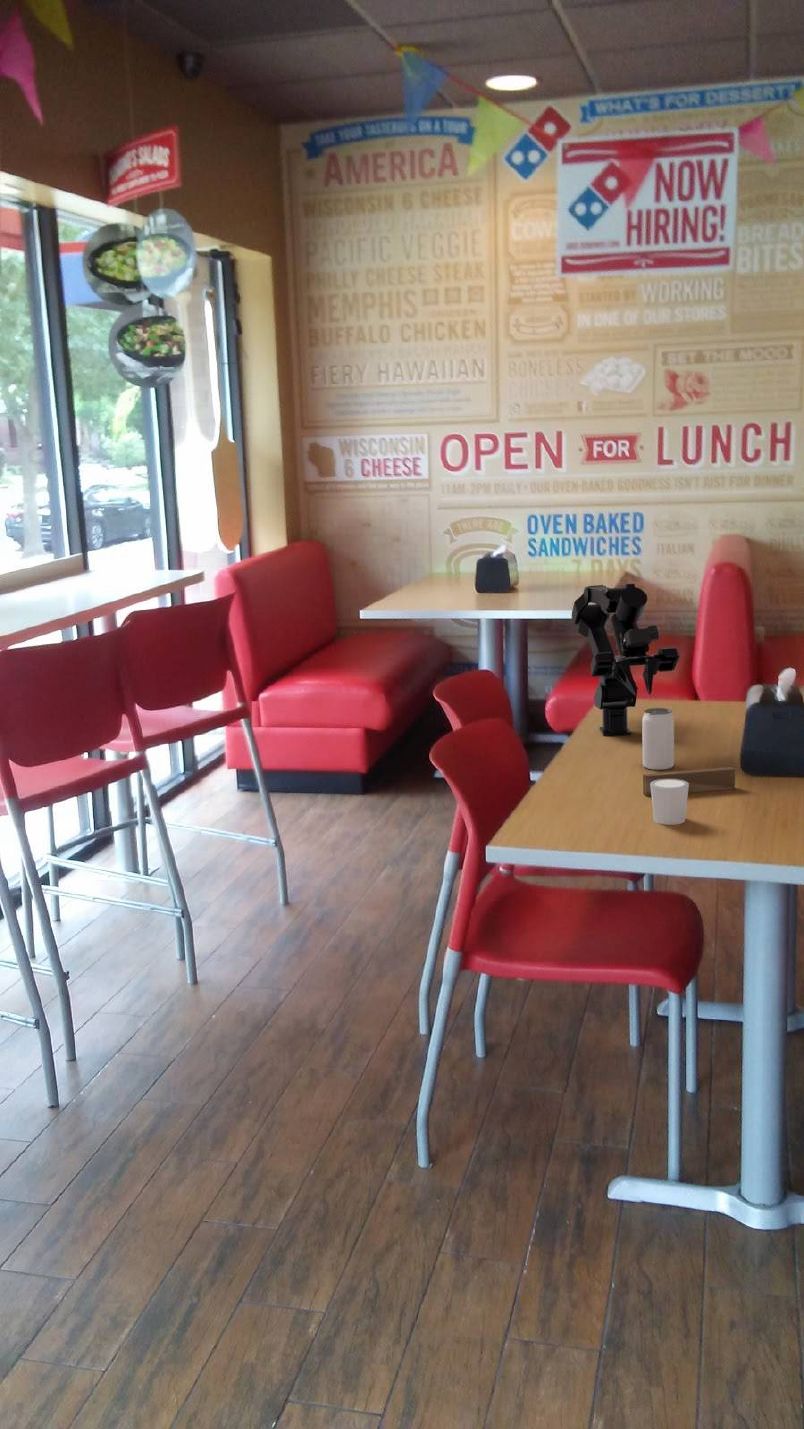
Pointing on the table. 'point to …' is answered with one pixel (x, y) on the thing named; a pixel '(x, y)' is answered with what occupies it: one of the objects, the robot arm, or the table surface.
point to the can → (658, 739)
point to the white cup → (669, 800)
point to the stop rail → (696, 779)
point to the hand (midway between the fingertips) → (643, 694)
